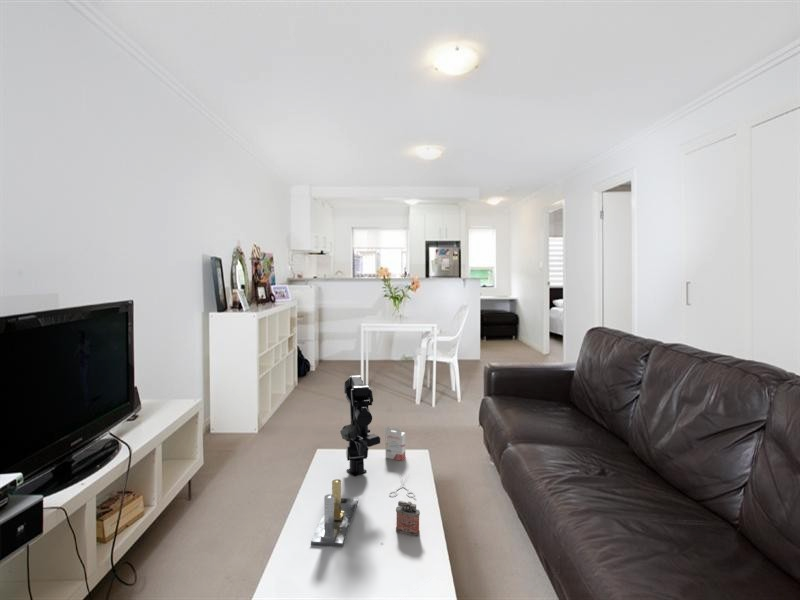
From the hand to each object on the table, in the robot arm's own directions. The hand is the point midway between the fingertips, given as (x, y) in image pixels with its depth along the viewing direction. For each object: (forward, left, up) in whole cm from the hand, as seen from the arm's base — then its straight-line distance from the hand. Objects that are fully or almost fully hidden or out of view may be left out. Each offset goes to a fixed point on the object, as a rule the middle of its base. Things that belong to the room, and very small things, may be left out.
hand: (360, 455), depth 154 cm
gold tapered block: (+13, -19, -11) cm, 26 cm away
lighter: (+33, -4, -13) cm, 36 cm away
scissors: (+10, +14, -14) cm, 22 cm away
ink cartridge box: (-12, +28, -13) cm, 33 cm away
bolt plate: (+13, -19, -13) cm, 26 cm away
